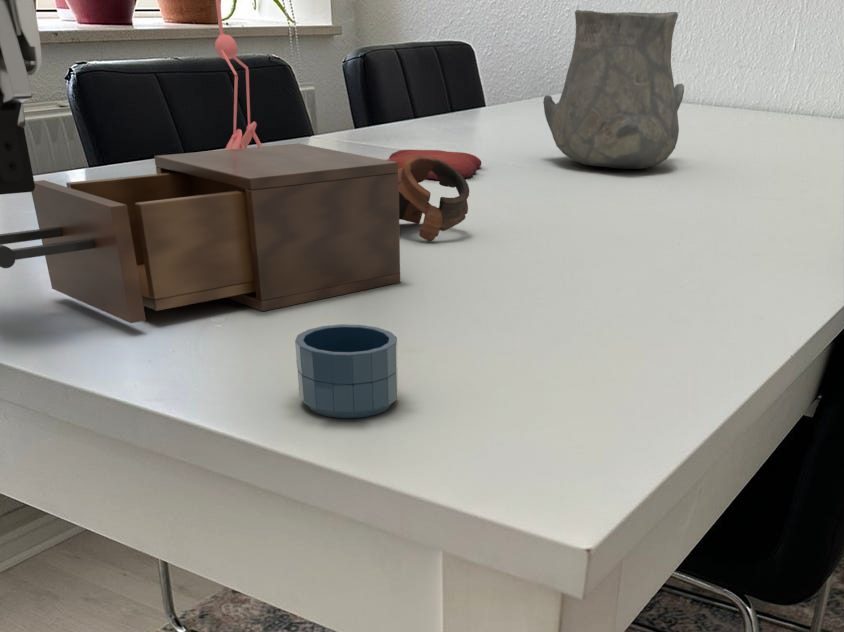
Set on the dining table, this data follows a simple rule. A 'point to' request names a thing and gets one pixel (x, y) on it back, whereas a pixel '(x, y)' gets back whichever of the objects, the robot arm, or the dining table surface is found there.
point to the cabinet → (308, 218)
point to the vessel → (618, 92)
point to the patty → (457, 160)
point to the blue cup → (347, 370)
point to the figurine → (235, 87)
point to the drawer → (140, 241)
